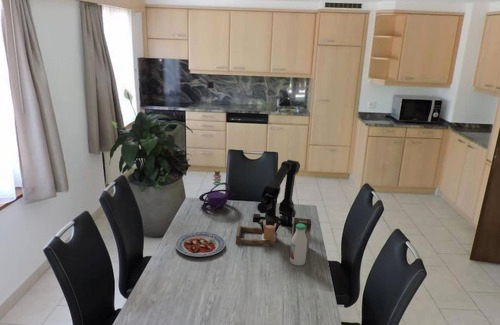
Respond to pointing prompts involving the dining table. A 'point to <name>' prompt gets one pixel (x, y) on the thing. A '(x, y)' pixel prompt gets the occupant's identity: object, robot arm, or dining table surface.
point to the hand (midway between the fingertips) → (269, 233)
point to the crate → (269, 231)
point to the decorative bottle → (216, 194)
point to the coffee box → (307, 230)
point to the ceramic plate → (200, 244)
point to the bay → (252, 241)
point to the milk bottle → (298, 246)
